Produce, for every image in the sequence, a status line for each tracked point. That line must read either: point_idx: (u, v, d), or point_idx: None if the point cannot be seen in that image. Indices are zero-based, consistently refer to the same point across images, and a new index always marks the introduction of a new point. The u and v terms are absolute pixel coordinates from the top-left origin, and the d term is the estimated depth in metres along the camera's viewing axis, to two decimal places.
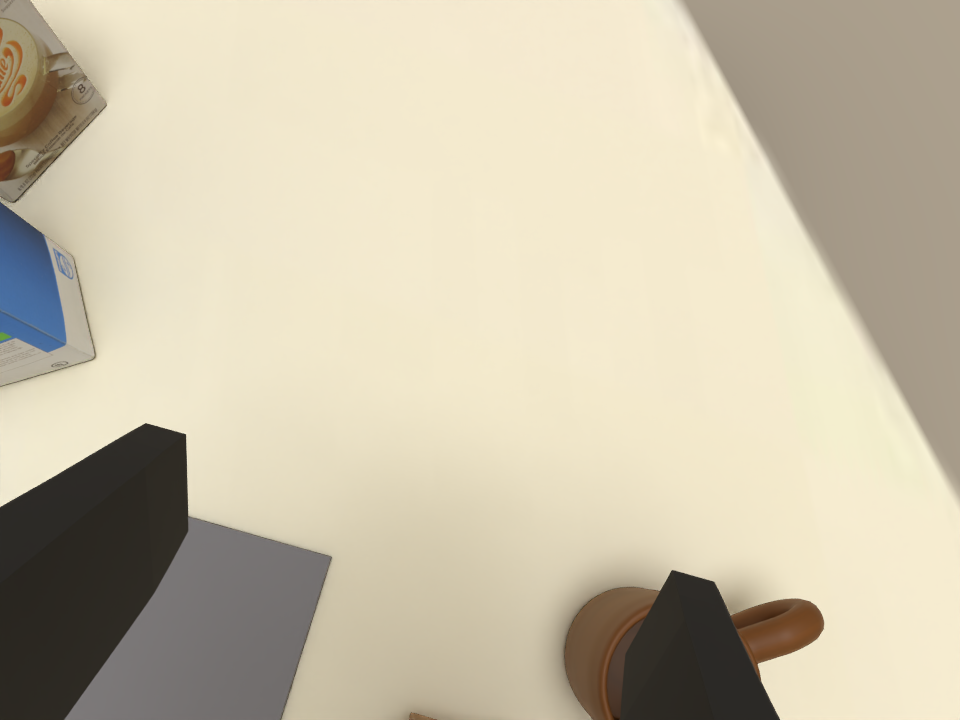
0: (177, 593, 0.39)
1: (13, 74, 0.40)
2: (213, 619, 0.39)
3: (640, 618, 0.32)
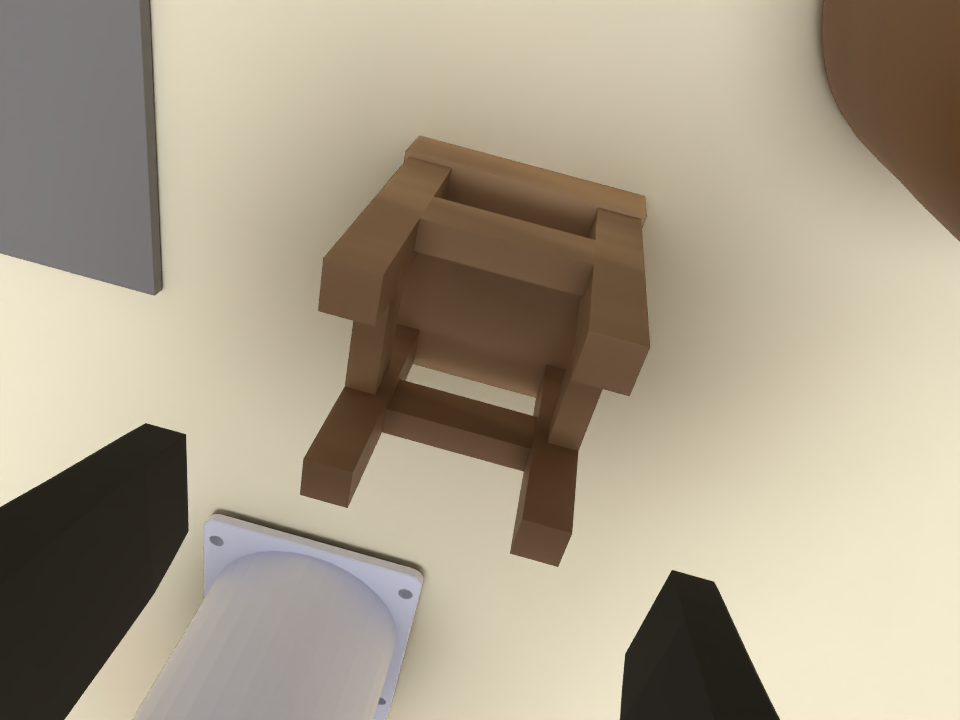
0: None
1: None
2: None
3: None
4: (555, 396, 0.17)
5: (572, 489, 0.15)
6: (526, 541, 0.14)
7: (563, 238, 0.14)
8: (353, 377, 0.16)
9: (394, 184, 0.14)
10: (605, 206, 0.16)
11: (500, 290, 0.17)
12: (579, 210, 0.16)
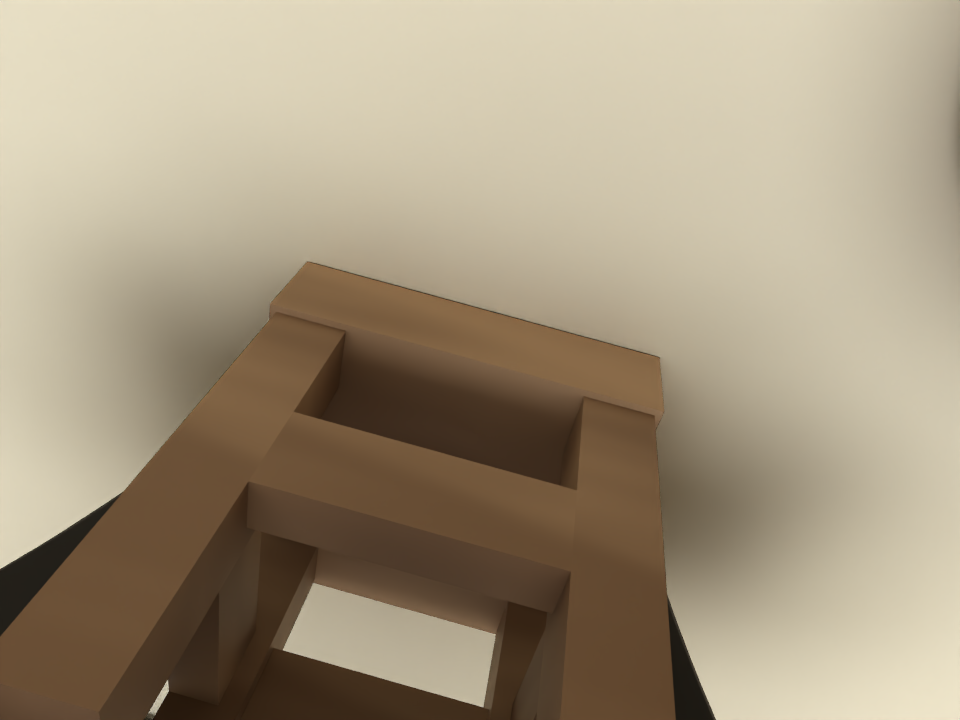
0: None
1: None
2: None
3: None
4: (519, 668, 0.11)
5: None
6: None
7: (518, 497, 0.08)
8: (179, 682, 0.10)
9: (226, 390, 0.08)
10: (596, 395, 0.10)
11: None
12: (554, 399, 0.10)
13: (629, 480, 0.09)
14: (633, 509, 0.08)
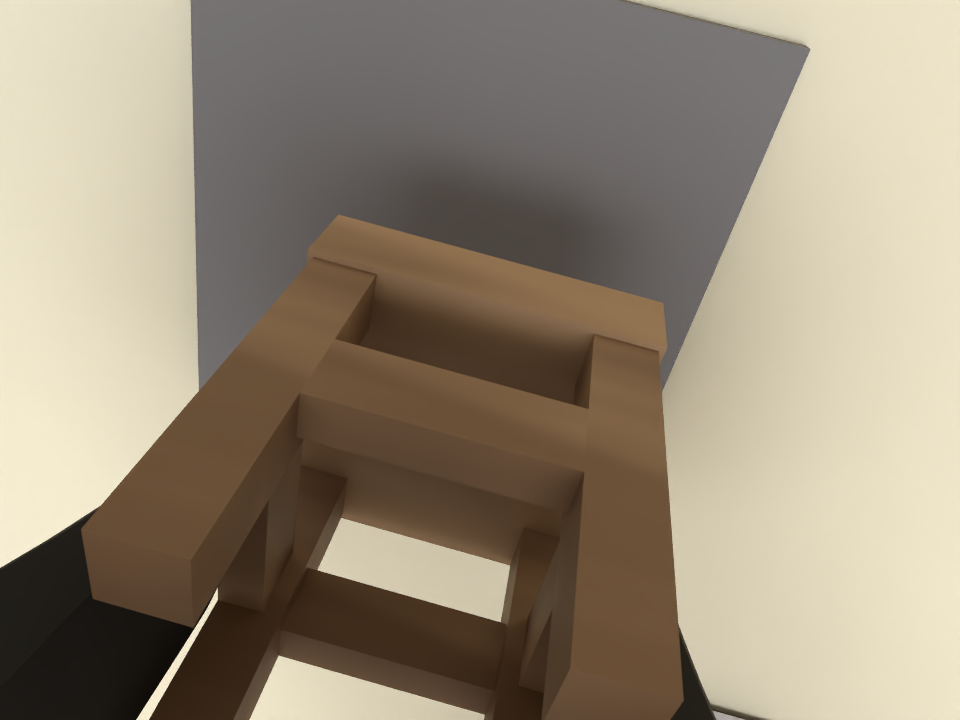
0: (415, 151, 0.17)
1: None
2: (505, 208, 0.17)
3: None
4: (533, 588, 0.12)
5: None
6: None
7: (537, 413, 0.09)
8: (228, 590, 0.11)
9: (273, 320, 0.09)
10: (605, 332, 0.11)
11: None
12: (567, 337, 0.11)
13: (635, 402, 0.09)
14: (639, 425, 0.09)
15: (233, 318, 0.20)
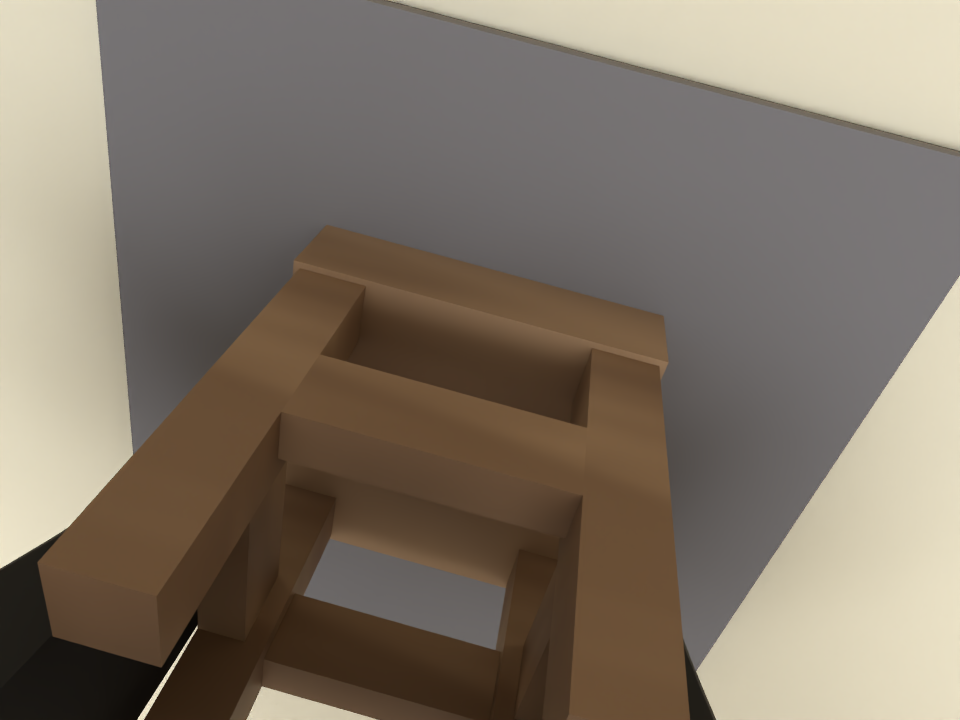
0: None
1: None
2: None
3: None
4: (529, 613, 0.12)
5: None
6: None
7: (533, 432, 0.08)
8: (208, 618, 0.10)
9: (255, 334, 0.09)
10: (604, 346, 0.10)
11: None
12: (564, 351, 0.10)
13: (636, 420, 0.09)
14: (640, 445, 0.09)
15: None
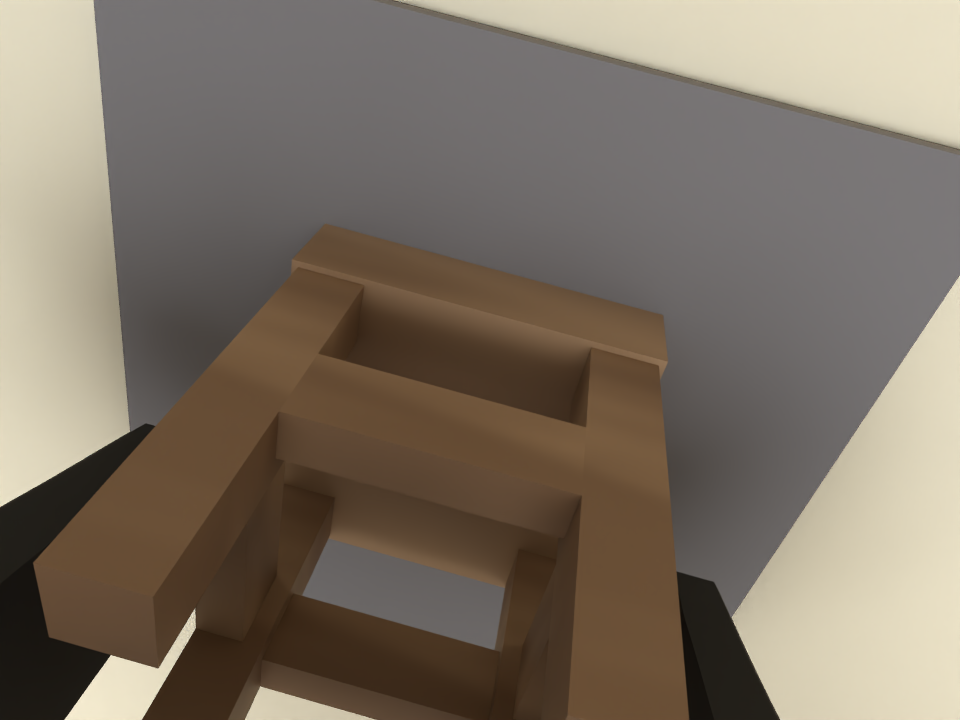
0: None
1: None
2: None
3: None
4: (529, 613, 0.12)
5: None
6: None
7: (531, 431, 0.08)
8: (206, 618, 0.10)
9: (253, 334, 0.09)
10: (603, 346, 0.10)
11: None
12: (563, 351, 0.10)
13: (635, 420, 0.09)
14: (639, 445, 0.09)
15: None
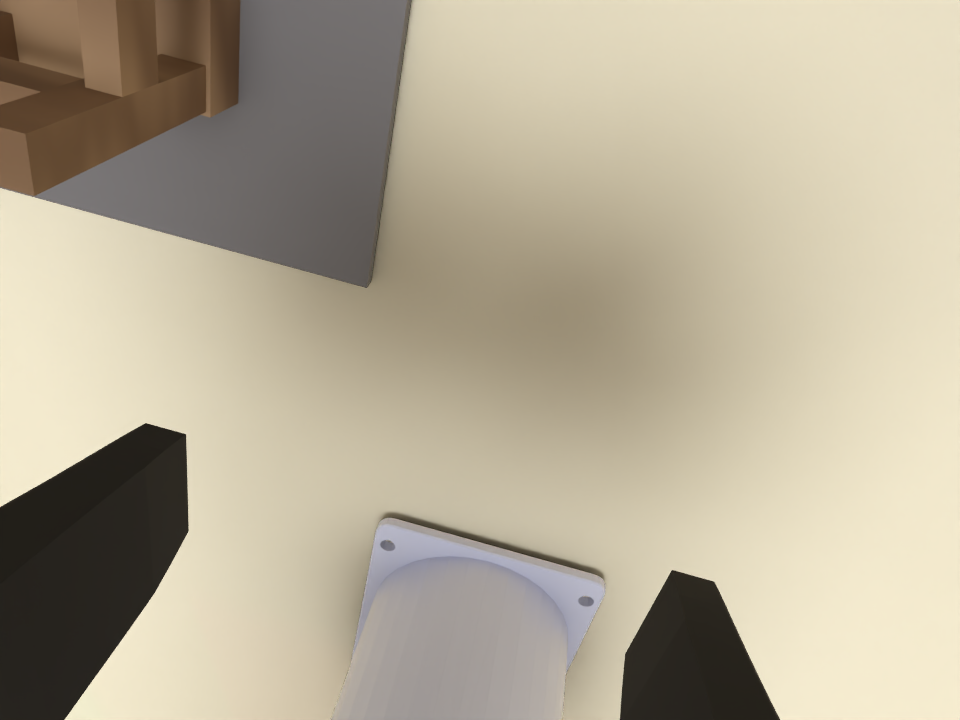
0: None
1: None
2: None
3: None
4: None
5: (73, 113, 0.12)
6: None
7: None
8: None
9: None
10: None
11: None
12: None
13: None
14: None
15: None
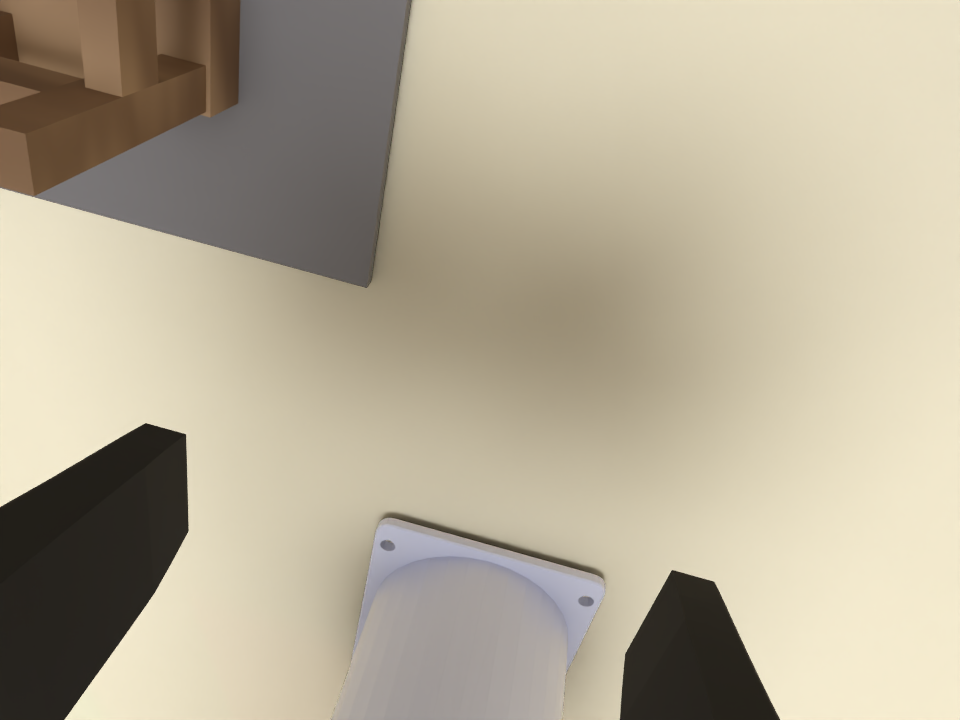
0: None
1: None
2: None
3: None
4: None
5: (73, 113, 0.12)
6: None
7: None
8: None
9: None
10: None
11: None
12: None
13: None
14: None
15: None
